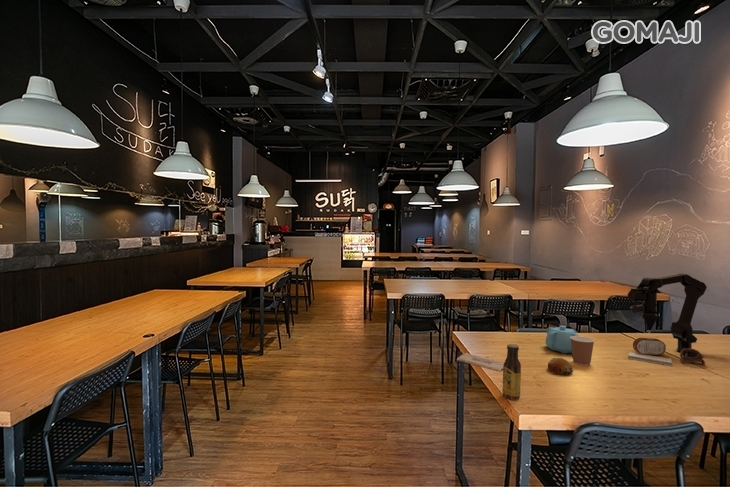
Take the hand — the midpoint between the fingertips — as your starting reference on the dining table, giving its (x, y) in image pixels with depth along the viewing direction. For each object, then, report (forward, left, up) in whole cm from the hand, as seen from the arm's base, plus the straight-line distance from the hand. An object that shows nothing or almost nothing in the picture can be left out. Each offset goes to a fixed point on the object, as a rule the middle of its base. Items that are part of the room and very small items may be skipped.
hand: (649, 329), depth 189 cm
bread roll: (+66, -32, -12) cm, 74 cm away
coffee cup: (+45, -26, -12) cm, 54 cm away
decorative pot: (+29, -37, -12) cm, 49 cm away
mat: (+16, 0, -12) cm, 20 cm away
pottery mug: (+10, +16, -12) cm, 22 cm away
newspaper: (+77, -64, -13) cm, 101 cm away
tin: (+7, 0, -12) cm, 14 cm away
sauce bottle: (+108, -41, -12) cm, 116 cm away
